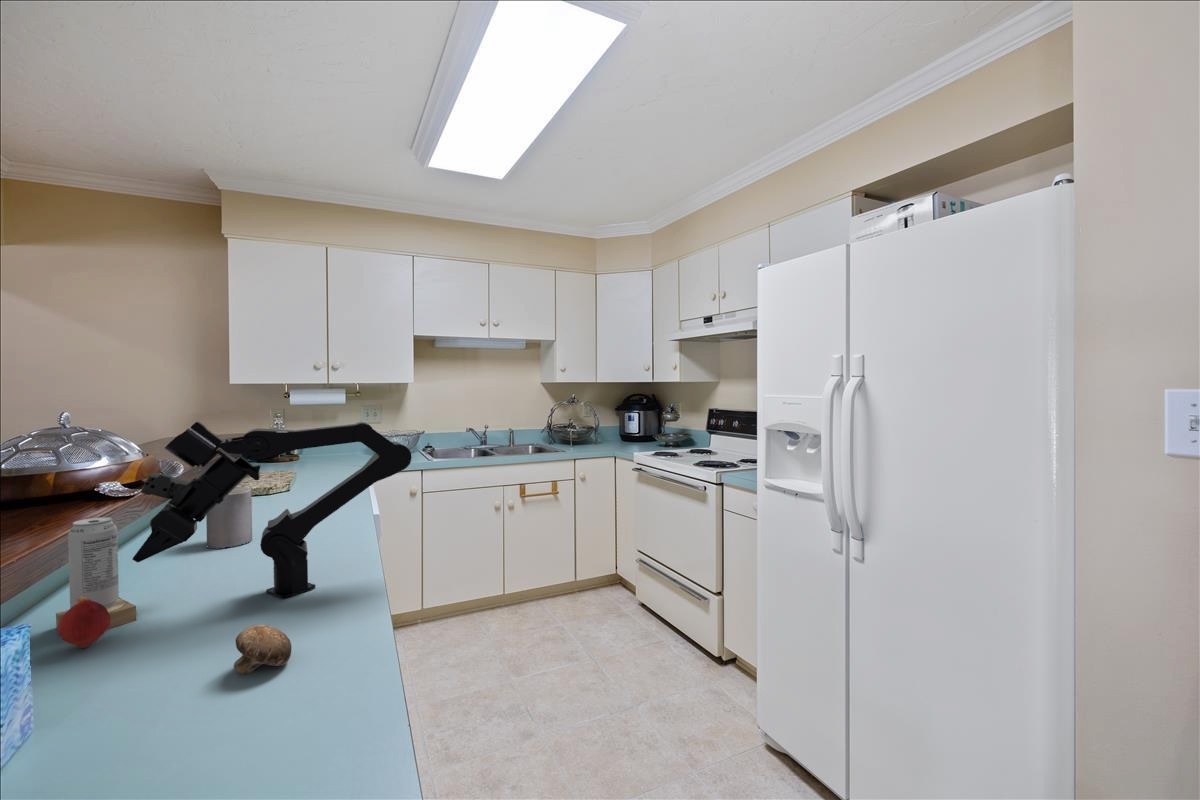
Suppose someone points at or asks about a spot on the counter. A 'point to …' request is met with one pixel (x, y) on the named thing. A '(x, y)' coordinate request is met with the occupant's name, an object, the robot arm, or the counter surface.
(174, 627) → the counter surface
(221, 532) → the pillar candle
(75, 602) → the energy drink can
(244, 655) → the mushroom
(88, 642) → the pomegranate
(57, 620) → the pedestal
